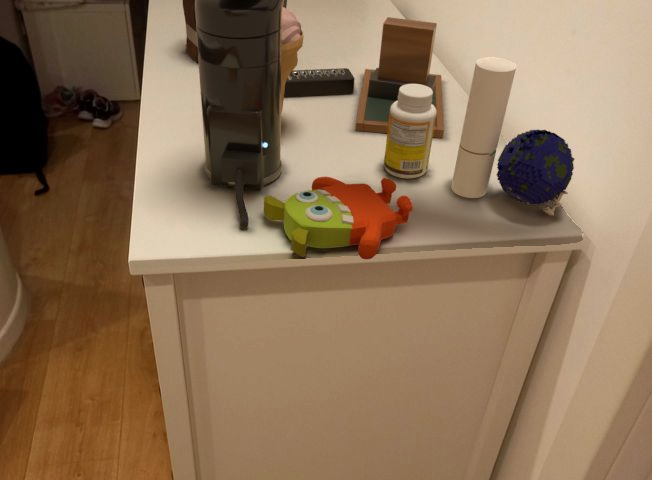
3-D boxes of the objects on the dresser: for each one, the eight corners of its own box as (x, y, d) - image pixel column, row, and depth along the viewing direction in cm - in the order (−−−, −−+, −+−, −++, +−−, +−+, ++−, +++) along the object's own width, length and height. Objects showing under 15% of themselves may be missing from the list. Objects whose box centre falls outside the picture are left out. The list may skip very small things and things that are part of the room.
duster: (428, 105, 99) (440, 33, 92) (367, 96, 101) (374, 24, 94) (433, 92, 103) (445, 21, 96) (374, 84, 104) (382, 13, 98)
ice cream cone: (312, 117, 98) (318, -40, 84) (282, 150, 90) (284, -18, 77) (242, 104, 100) (237, -51, 87) (207, 134, 93) (196, -30, 79)
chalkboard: (442, 138, 94) (444, 129, 93) (355, 130, 95) (356, 122, 94) (440, 82, 109) (441, 74, 108) (364, 76, 110) (365, 68, 109)
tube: (463, 200, 82) (491, 73, 72) (444, 183, 85) (468, 59, 75) (493, 194, 83) (524, 68, 73) (473, 177, 86) (500, 55, 76)
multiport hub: (354, 93, 104) (355, 78, 103) (282, 97, 103) (283, 81, 101) (347, 82, 108) (348, 67, 106) (278, 85, 106) (278, 70, 104)
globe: (527, 212, 84) (557, 155, 84) (565, 217, 77) (599, 154, 76) (477, 181, 82) (508, 122, 81) (511, 183, 75) (546, 118, 74)
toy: (435, 221, 71) (300, 243, 67) (429, 254, 74) (298, 277, 69) (375, 158, 81) (254, 173, 77) (371, 189, 84) (254, 205, 80)
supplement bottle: (402, 155, 90) (413, 76, 83) (435, 171, 87) (450, 91, 80) (373, 168, 87) (382, 88, 80) (407, 185, 84) (419, 103, 77)
